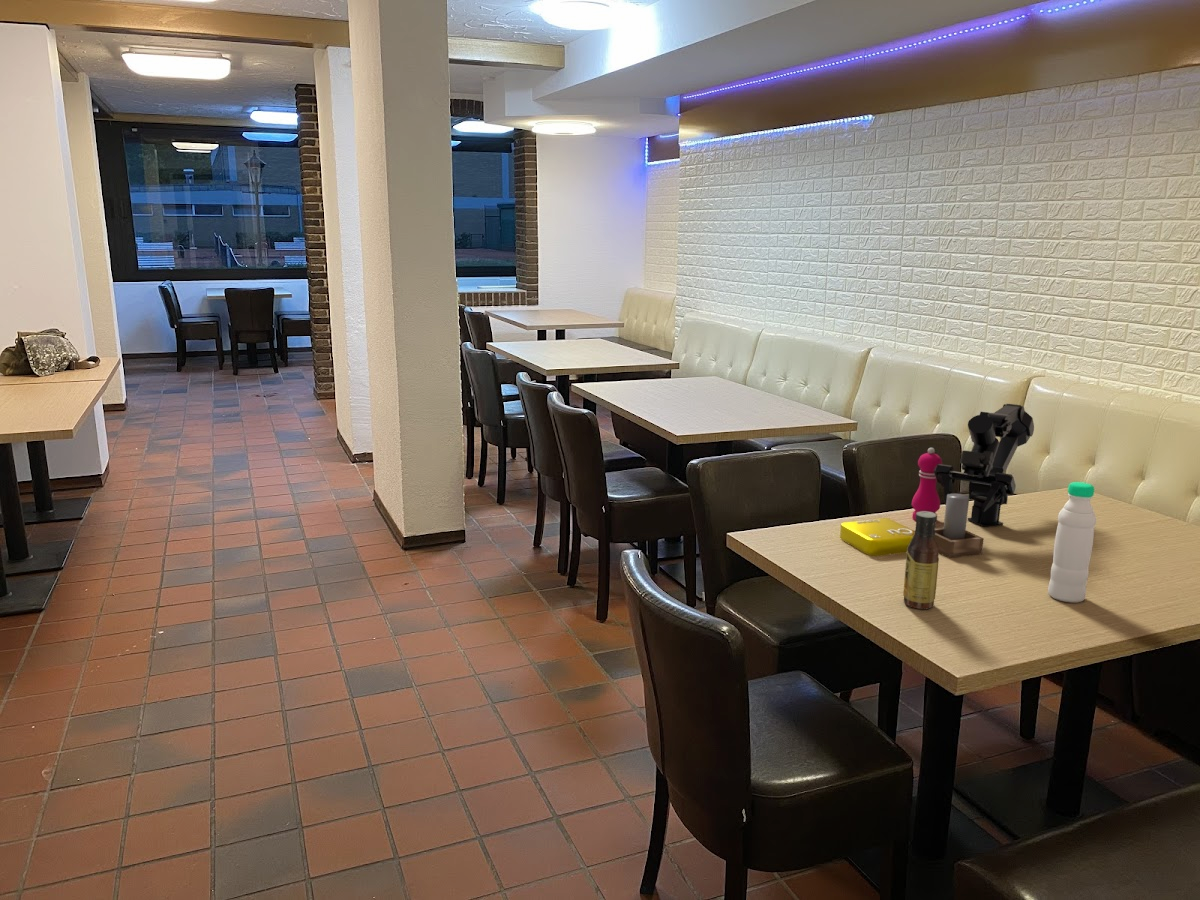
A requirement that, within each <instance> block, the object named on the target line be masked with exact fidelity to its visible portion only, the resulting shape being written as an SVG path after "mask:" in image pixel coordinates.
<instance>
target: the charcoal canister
mask: <svg viewBox="0 0 1200 900" xmlns="http://www.w3.org/2000/svg"><path fill="white" fill-rule="evenodd" d="M969 503H970V499H969V495H965V494H962V493H952V494H948V495H947V501H946V505H945V512H944V523H943V527H942V528H943V537H946V538H948V539H950V540H959V539H965V531H967V530H966V529H967V521H968V511H969Z"/></svg>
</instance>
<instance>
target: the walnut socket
mask: <svg viewBox="0 0 1200 900" xmlns="http://www.w3.org/2000/svg"><path fill="white" fill-rule="evenodd" d="M943 528H944V527H940V528H935V535H934V537H935V539H936V541H937V543H938V545H939V554H941V555H942V554H943V556H945V557H946V558H948V557H949V558H948V559H952V558H953V559H954V558H960V557H961V558H962V557H968V556H969V555H970V556H975V555H976V556H977V555H978V556H979V555H982V554H983V547H984V537H982V536H980V535H977V534H976V533H975V534H974V533H973V532H971V531H968V530H966V531H965V539H959V540H950V539H948V538H946V537H943ZM970 556H969V557H970Z"/></svg>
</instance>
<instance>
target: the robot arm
mask: <svg viewBox="0 0 1200 900" xmlns="http://www.w3.org/2000/svg"><path fill="white" fill-rule="evenodd" d="M967 427H968V432H969V435H970V439H971V443H973V444H972V448H971V450H962V452H961V454H960V455H961V456H960V460H959V464H961V469H962V470H963V472H962V471H961V472H960V471H955V469H954V466H953V465H950V464H949V465H948V464H943V463H942V464H938V465H937V466H936V467H935V469H934V474H935V477H936V479H937V480H936V483H938V484H940V485H941V487H943V491H944V492H943V496H944V500H943V502H944V505H945V506H946V501H947V495H948V494H953V491H954V487H955V486H954V484H955V481H956V480H957V481H963V482H969V483H968V497H969V501H970V500H973V505H972V506H971V514H970V515H971V516H970V517H967V521H969V522H972V523H973V524H974V523H975V524H976V525H978V526H981V527H983V528H984V527H986V526H987V527H992V526H993V527H994V526H995V527H996V526H1002V525H1003V524H1004V522H1002V521H1000V515H1001V506H1002V505H1007V504H1008V499H1009V497H1008V496H1013V495H1015V492H1016V482H1015V479H1014V476H1013V475H1012V474H1010V473H1006V471H1007V469H1008V467H1009V465H1010V462H1011V461H1012V459H1013V457H1014V455H1015V453H1016V451H1017V449H1018V447H1020V446H1023V445H1025V444H1027V443H1028V441H1029V440H1030V438H1031V437H1033V435H1034V431H1035V423H1034V418H1033V416H1031V415H1030V414H1029V413H1028V412H1027V411H1026V410H1025V406H1024V405H1023V406H1022V405H1021V404H1014V403H1013V404H1012V403H1004V404H1003V405H1002V407H1000V408H998V410H996V411H995V412H986V411H980V413H979V414H978V415H974V416H972V418H970V419H969V420H968V421H967ZM998 438H1000V439H998Z"/></svg>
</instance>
